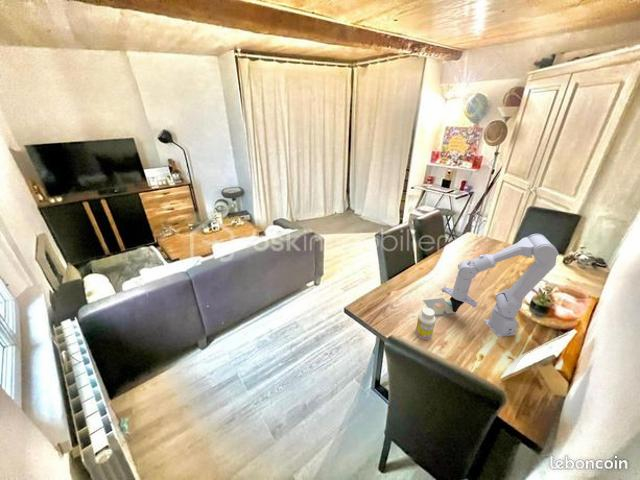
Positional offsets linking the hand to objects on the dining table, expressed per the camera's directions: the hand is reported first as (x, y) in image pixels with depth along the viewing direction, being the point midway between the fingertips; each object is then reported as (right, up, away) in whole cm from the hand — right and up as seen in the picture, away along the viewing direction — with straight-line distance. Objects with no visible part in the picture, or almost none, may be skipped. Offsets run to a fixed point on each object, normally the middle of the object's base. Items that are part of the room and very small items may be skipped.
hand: (454, 310), depth 113 cm
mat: (-4, -1, +7) cm, 8 cm away
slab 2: (0, -2, +4) cm, 4 cm away
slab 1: (-6, -2, +4) cm, 7 cm away
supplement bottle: (-17, -8, -7) cm, 20 cm away
